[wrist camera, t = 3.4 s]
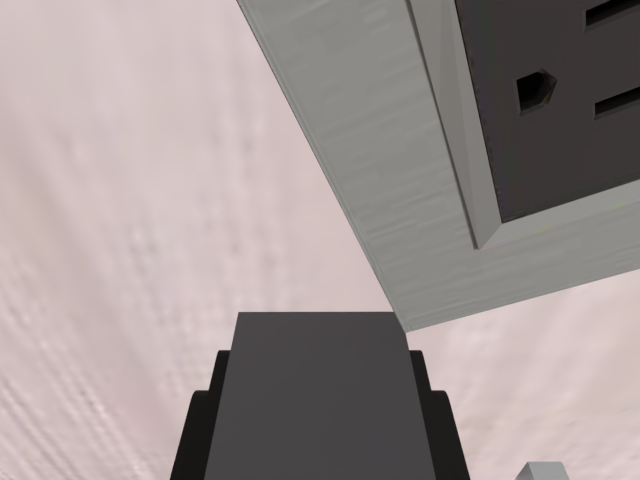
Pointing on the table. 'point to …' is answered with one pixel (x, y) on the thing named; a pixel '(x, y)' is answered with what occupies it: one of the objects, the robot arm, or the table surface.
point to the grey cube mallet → (319, 401)
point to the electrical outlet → (469, 139)
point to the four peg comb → (543, 471)
